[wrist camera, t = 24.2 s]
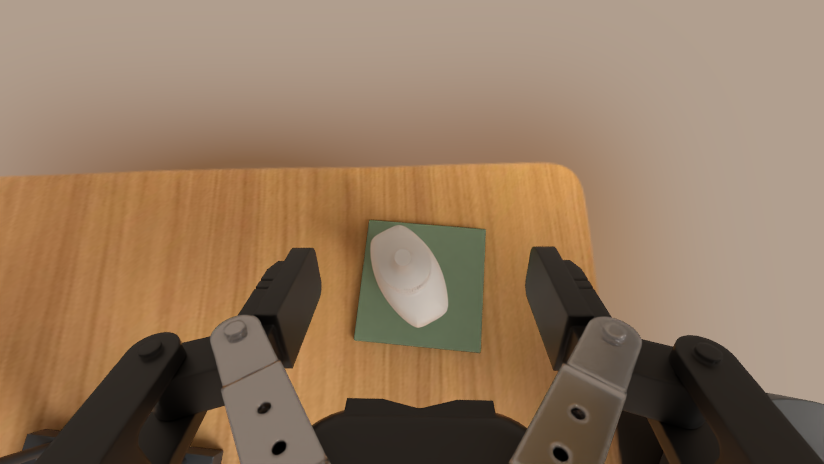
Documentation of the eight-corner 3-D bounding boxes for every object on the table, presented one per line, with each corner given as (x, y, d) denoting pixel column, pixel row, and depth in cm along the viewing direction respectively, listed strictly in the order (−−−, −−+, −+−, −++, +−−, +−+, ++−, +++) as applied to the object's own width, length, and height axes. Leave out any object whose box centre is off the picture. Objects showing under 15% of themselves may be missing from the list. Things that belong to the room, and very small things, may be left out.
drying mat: (484, 230, 28) (485, 229, 27) (479, 352, 25) (480, 353, 25) (370, 221, 28) (369, 219, 28) (354, 340, 26) (353, 340, 25)
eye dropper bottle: (381, 326, 25) (345, 327, 14) (384, 249, 27) (353, 192, 15) (442, 328, 25) (457, 329, 14) (442, 250, 27) (455, 193, 15)
